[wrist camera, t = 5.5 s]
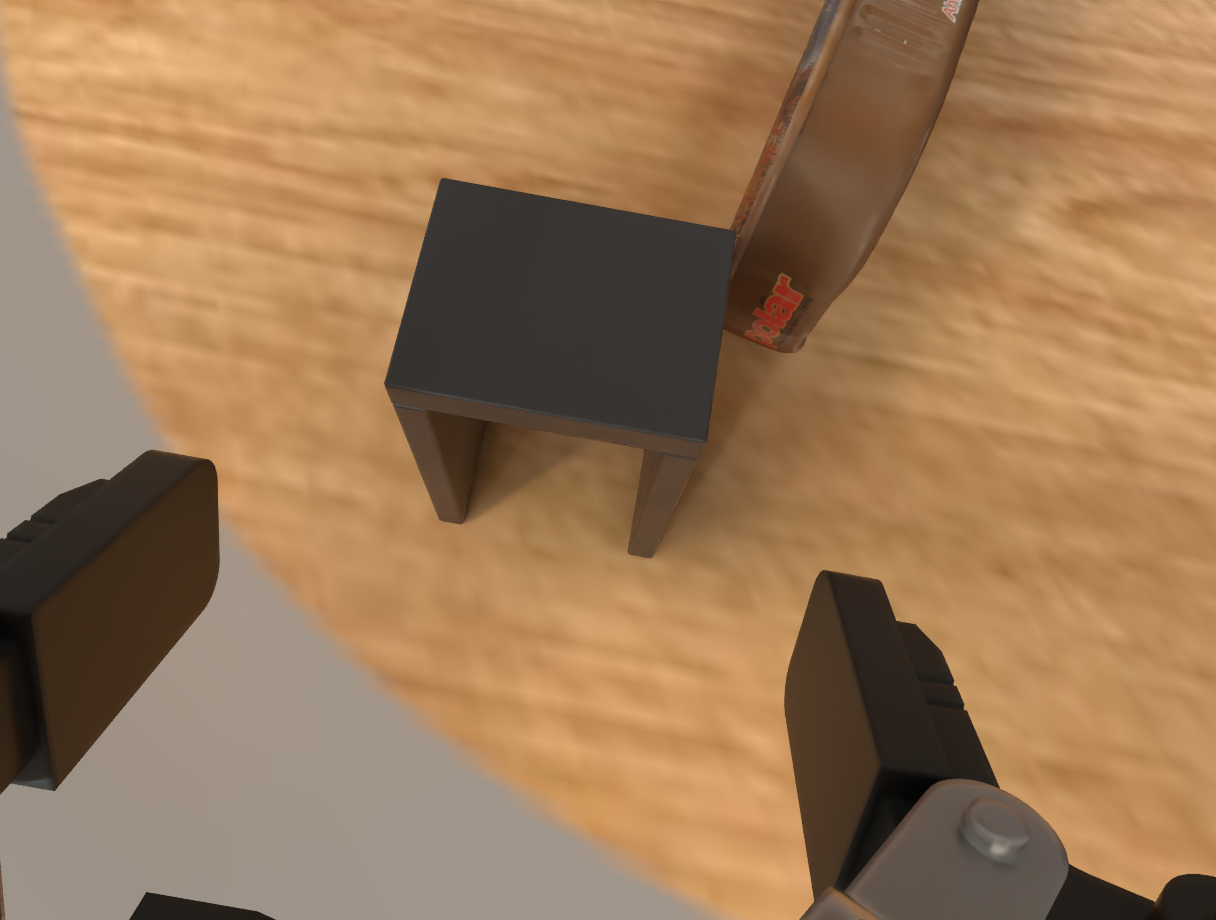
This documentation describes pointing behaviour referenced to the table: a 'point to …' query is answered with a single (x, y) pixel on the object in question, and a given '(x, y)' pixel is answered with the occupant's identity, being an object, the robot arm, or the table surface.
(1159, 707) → the table surface
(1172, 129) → the table surface
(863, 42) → the tin
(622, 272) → the dark grey stool
